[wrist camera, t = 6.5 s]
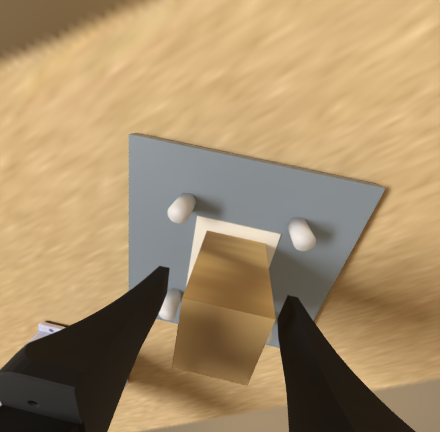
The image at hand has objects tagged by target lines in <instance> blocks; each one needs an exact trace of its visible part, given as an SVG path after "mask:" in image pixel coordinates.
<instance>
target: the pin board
mask: <svg viewBox="0 0 440 432" xmlns="http://www.w3.org/2000/svg"><path fill="white" fill-rule="evenodd" d="M385 189H386V188H384V187H382V186H380V185H378V184H376V183H371V182H367V181H362V180H357V179H352V178H348V177H343V176H338V175H333V174H329V173H324V172H319V171H314V170H310V169H305V168H300V167H296V166H291V165H286V164H281V163H277V162H272V161H267V160H262V159H258V158H253V157H248V156H244V155H239V154H234V153H229V152H225V151H220V150H215V149H210V148H206V147H201V146H196V145H191V144H187V143H182V142H177V141H173V140H168V139H163V138H158V137H154V136H149V135H144V134H139V133H133V134H129V291H130V290H131V289H132V288H134V287H135V286H136V285H137V284H139V283H140V282H141V281H142V280H144V279H145V278H146V277H147V276H148V275H149V274H151V273H152V272H153V271H154V270H155V269H156V268H157V267H159V266H163V267H168V268H170V270H169V280H168V289H167V295H166V297H165V300H164V302H163V305H162V307H161V310H160V312H159V314H158V316H157V318H156V319H160V320H164V321H168V322H172V323H177V324H178V323H179V316H180V310H181V303H182V297H183V294H184V292H185V289H186V286H187V283H188V281H189V278H190V275H191V273H192V270H193V267H194V264H195V262H196V259H197V256H198V253H199V251H200V248H201V245H202V242H203V240H204V237H205V234H206V231H212V232H216V233H221V234H225V235H230V236H234V237H239V238H243V239H248V240H252V241H257V242H261V243H265V246H266V253H267V260H268V267H269V274H270V282H271V289H272V296H273V303H274V311H275V318H276V320H275V323H274V325H273V327H272V329H271V332H270V334H269V336H268V339H267V341H266V343H265V345H269V346H274V347H278V348H280V345H279V339H278V323H277V318H278V316H279V314H280V311H281V309H282V307H283V305H284V302H285V300H286V298H287V295H290V296H294V297H298V298H299V300H300V301H301V303H302V304H303V306H304V307H305V309H306V311H307V312H308V314H309V315H310V317H311V318H312V320H313V321H314V319H315V317H316V315H317V313H318V311H319V310H320V308H321V306H322V304H323V302H324V300H325V299H326V297H327V295H328V293H329V291H330V289H331V288H332V286H333V284H334V282H335V280H336V278H337V277H338V275H339V273H340V271H341V269H342V267H343V266H344V264H345V262H346V260H347V258H348V256H349V255H350V253H351V251H352V249H353V247H354V245H355V244H356V242H357V240H358V238H359V236H360V234H361V233H362V231H363V229H364V227H365V225H366V223H367V222H368V220H369V218H370V216H371V214H372V212H373V211H374V209H375V207H376V205H377V203H378V201H379V200H380V198H381V196H382V194H383V192H384V190H385Z"/></svg>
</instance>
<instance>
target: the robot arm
mask: <svg viewBox="0 0 440 432" xmlns="http://www.w3.org/2000/svg"><path fill="white" fill-rule="evenodd" d="M169 270H170V268H168V267H163V266H159V267H157V268H156V269H155V270H154V271H153V272H152V273H151V274H149V275H148V276H147V277H146V278H145V279H144V280H142V281H141V282H140V283H139V284H137V285H136V286H135V287H134V288H132V289H131V290H130V291H128V292H127V293H125V294H124V295H123V296H121V297H120V298H118V299H117V300H115V301H114V302H112V303H111V304H109V305H108V306H106V307H104V308H103V309H101V310H99V311H98V312H96V313H94V314H92V315H90V316H89V317H87V318H85V319H83V320H81V321H79V322H77V323H74V324H72V325H70V326H68V327H63V326H59V325H55V324H51V323H47V322H41V323H40V324H39V325H38V329H39V331H38V332H37V333H36V334H35V335H34V336H33V337H32V338H31V339H30V340H29V341H28V342H27V343H26V344H25V345H24V347H23V348H22V349H21V350H20V351H18V352H17V353H16V354H15V355H14V356H13V357H12V358H11V359H10V360H9V362H8V363H7V364H6V365H5V366H4V367H3V368H2V369H1V370H0V432H107V431H108V428H109V426H110V423H111V420H112V418H113V415H114V412H115V410H116V407H117V405H118V402H119V400H120V397H121V394H122V392H123V389H124V387H126V386H127V384H128V377H129V375H130V372H131V370H132V367H133V365H134V362H135V360H136V358H137V355H138V353H139V351H140V349H141V346H142V344H143V342H144V341H145V339H146V337H147V335H148V333H149V331H150V329H151V327H152V325H153V323H154V321H155V319H156V318H157V316H158V314H159V312H160V310H161V307H162V305H163V302H164V300H165V297H166V295H167V289H168V280H169ZM277 323H278V339H279V345H280V352H281V358H282V364H283V370H284V376H285V383H286V392H287V405H288V420H289V432H415V431H414V430H413V429H412V428H410V427H409V426H408V425H407V424H406V423H404V421H403V420H401V419H400V418H399V417H398V416H397V415H396V414H395V413H394V412H392V411H391V410H390V409H389V408H388V407H387V406H386V405H385V404H384V403H383V402H382V401H381V400H380V399H379V398H378V397H377V396H376V395H375V394H374V393H373V392H372V391H371V390H370V389H369V388H368V387H367V386H366V385H365V384H364V383H363V382H362V381H361V380H360V379H359V378H358V377H357V376H356V375H355V374H354V372H353V371H352V370H351V369H350V368H349V367H348V366H347V365H346V363H345V362H344V361H343V360H342V359H341V358H340V356H339V355H338V354H337V353H336V351H335V350H334V349H333V348H332V346H331V345H330V344H329V342H328V341H327V340H326V338H325V337H324V336H323V334H322V333H321V331H320V330H319V329H318V327H317V326H316V324H315V323H314V321H313V320H312V318H311V317H310V315H309V314H308V312H307V311H306V309H305V307H304V306H303V304H302V303H301V301H300V300H299V298H298V297H294V296H290V295H287V298H286V300H285V302H284V305H283V307H282V309H281V311H280V314H279V316H278V318H277Z"/></svg>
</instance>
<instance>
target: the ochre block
mask: <svg viewBox="0 0 440 432" xmlns="http://www.w3.org/2000/svg"><path fill="white" fill-rule="evenodd" d="M275 320H276V318H275V311H274V303H273V296H272V289H271V282H270V274H269V267H268V260H267V253H266V246H265V243H261V242H257V241H252V240H248V239H243V238H239V237H234V236H230V235H225V234H221V233H216V232H212V231H206V234H205V237H204V240H203V242H202V245H201V248H200V251H199V253H198V256H197V259H196V262H195V264H194V267H193V270H192V273H191V275H190V278H189V281H188V283H187V286H186V289H185V292H184V294H183V297H182V303H181V310H180V316H179V323H178V330H177V337H176V343H175V350H174V357H173V364H172V367H173V368H177V369H182V370H186V371H190V372H194V373H198V374H202V375H206V376H210V377H214V378H219V379H223V380H227V381H231V382H235V383H239V384H243V385H248V383H249V380H250V378H251V376H252V373H253V371H254V369H255V366H256V364H257V362H258V360H259V357H260V355H261V353H262V350H263V348H264V346H265V343H266V341H267V339H268V336H269V334H270V332H271V329H272V327H273V325H274V323H275Z"/></svg>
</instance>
